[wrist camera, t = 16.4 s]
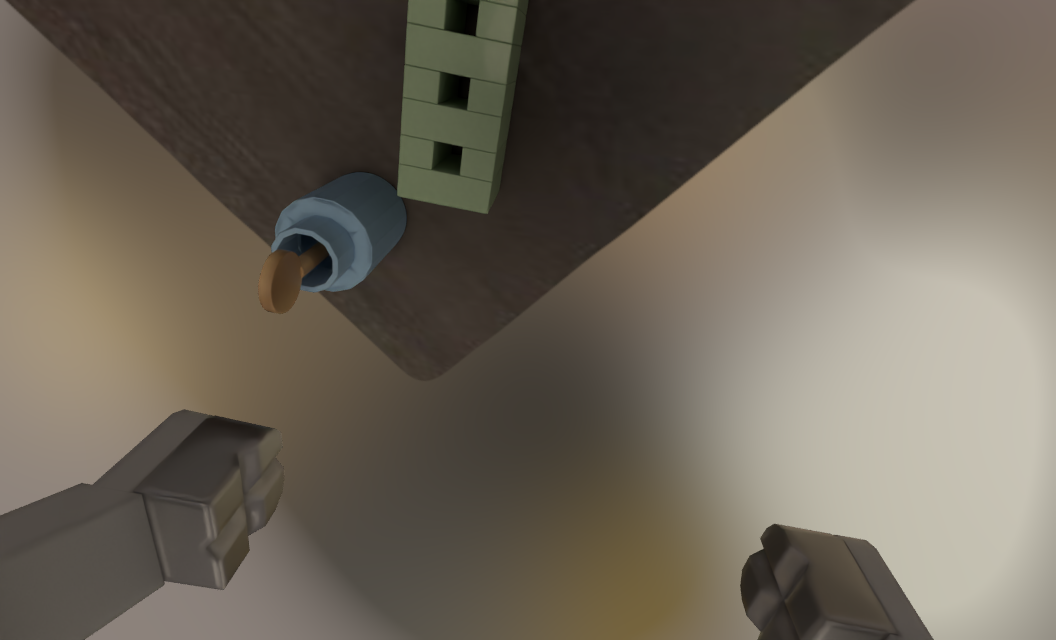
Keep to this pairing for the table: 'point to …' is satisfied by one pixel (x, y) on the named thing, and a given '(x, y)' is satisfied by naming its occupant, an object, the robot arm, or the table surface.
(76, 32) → the table surface
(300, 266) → the spoon
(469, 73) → the stand
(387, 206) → the bottle
